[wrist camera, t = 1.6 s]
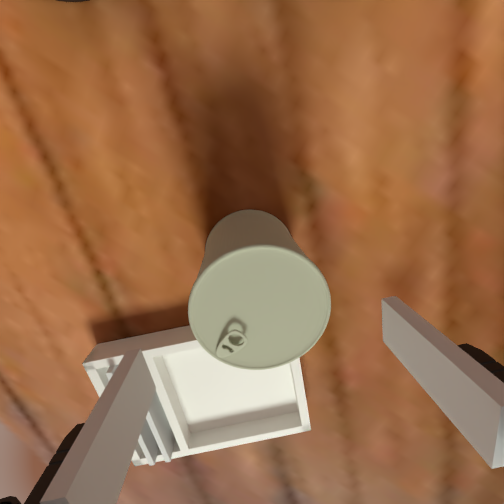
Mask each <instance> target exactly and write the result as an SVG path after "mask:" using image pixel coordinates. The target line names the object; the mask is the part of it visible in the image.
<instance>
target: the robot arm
mask: <svg viewBox="0 0 504 504" xmlns="http://www.w3.org/2000/svg"><path fill="white" fill-rule="evenodd" d="M58 1H65V2H82V1H89V0H58ZM382 325H383V342H384V343H385V344H386V345H387V346H388V347H389V349H390V350H391V351H392V352H393V353H394V355H395V356H396V357H397V358H398V359H399V360H400V362H401V363H402V364H403V365H404V366H405V367H406V369H407V370H408V371H409V372H410V373H411V374H412V376H413V377H414V378H415V379H416V380H417V382H418V383H419V384H420V385H421V386H422V387H423V389H424V390H425V391H426V392H427V393H428V394H429V396H430V397H431V398H432V399H433V400H434V402H435V403H436V404H437V405H438V406H439V407H440V409H441V410H442V411H443V412H444V413H445V414H446V416H447V417H448V418H449V419H450V420H451V421H452V423H453V424H454V425H455V426H456V427H457V429H458V430H459V431H460V432H461V433H462V434H463V436H464V437H465V438H466V439H467V440H468V441H469V443H470V444H471V445H472V446H473V447H474V449H475V450H476V451H477V452H478V453H479V454H480V456H481V457H482V458H483V459H484V460H485V461H486V463H487V464H488V465H489V466H490V467H491V468H492V469H493V468H498V467H503V466H504V366H502V365H501V364H500V363H498V362H496V361H495V360H494V359H493V358H492V357H490V356H489V355H488V354H486V353H485V352H484V351H482V350H480V349H478V348H476V347H473V346H471V345H469V344H467V343H466V344H461V345H456V344H455V343H453V342H452V341H451V340H450V339H448V338H447V337H446V336H445V335H443V334H442V333H441V332H440V331H439V330H437V329H436V328H435V327H434V326H432V325H431V324H430V323H429V322H427V321H426V320H425V319H424V318H422V317H421V316H420V315H419V314H417V313H416V312H415V311H414V310H412V309H411V308H410V307H409V306H408V305H406V304H405V303H404V302H403V301H401V300H400V299H399V298H398V297H396V296H393V297H388V298H383V299H382ZM155 390H156V386H155V383H154V381H153V378H152V376H151V373H150V371H149V368H148V366H147V363H146V361H145V358H144V356H143V353H142V351H141V348H139V349H134V350H129V351H126V353H125V354H124V356H123V358H122V360H121V361H120V363H119V365H118V367H117V368H116V370H115V372H114V374H113V375H112V377H111V379H110V381H109V382H108V384H107V386H106V388H105V389H104V391H103V393H102V394H101V396H100V398H99V400H98V401H97V403H96V405H95V407H94V408H93V410H92V412H91V414H90V415H89V417H88V419H87V421H86V422H85V423H82V424H77V425H76V426H75V427H74V428H73V429H72V431H71V432H70V433H69V434H68V435H67V436H66V437H65V438H64V440H63V441H62V443H61V445H60V446H59V448H58V450H57V451H56V454H54V456H53V458H52V459H51V461H50V462H49V466H47V467H46V469H45V471H44V473H43V474H42V476H41V477H40V479H39V481H38V482H37V484H36V485H35V487H34V489H33V490H32V492H31V493H30V495H29V496H28V498H27V500H26V501H25V503H24V504H116V503H117V500H118V497H119V494H120V491H121V488H122V486H123V483H124V480H125V477H126V474H127V471H128V468H129V465H130V462H131V459H132V457H133V454H134V451H135V448H136V445H137V442H138V439H139V436H140V433H141V431H142V428H143V425H144V422H145V419H146V416H147V413H148V410H149V407H150V404H151V402H152V399H153V396H154V393H155ZM0 504H21V503H20V501H19V500H18V499H17V498H16V497H12V496H9V497H6V498H2V499H0Z"/></svg>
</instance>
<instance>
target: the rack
mask: <svg viewBox="0 0 504 504" xmlns="http://www.w3.org/2000/svg"><path fill="white" fill-rule="evenodd" d="M139 348H141V351H142V353H143V356H144V358H145V361H146V363H147V366H148V368H149V371H150V373H151V376H152V378H153V381H154V383H155V386H156V390H155V393H154V396H153V399H152V402H151V404H150V407H149V410H148V413H147V416H146V419H145V422H144V425H143V428H142V431H141V433H140V436H139V439H138V442H137V445H136V448H135V451H134V454H133V457H132V459H131V460H132V462H133V464H134V466H138V465H143V464H148V463H149V465H150V466H151V465H155V462H158V461H163V460H165V462H170V461H171V459H173V458H178V457H182V456H187V455H192V454H197V453H202V452H207V451H212V450H217V449H222V448H226V447H231V446H236V445H241V444H246V443H251V442H256V441H261V440H266V439H270V438H275V437H280V436H285V435H290V434H295V433H300V432H305V431H309V430H311V427H310V421H309V414H308V408H307V402H306V396H305V390H304V383H303V377H302V371H301V365H300V359H299V358H298V359H296V360H294V361H292V362H290V363H288V364H285V365H283V366H279V367H276V368H272V369H265V370H247V369H241V368H236V367H233V366H230V365H227V364H225V363H223V362H221V361H219V360H217V359H215V358H214V357H212V356H211V355H210V354H209V353H208V352H207V351H205V350H204V349H203V347H202V346H201V345H200V344H199V342H198V341H197V339H196V338H195V336H194V334H193V332H192V329H191V326H190V325H189V326H184V327H179V328H174V329H169V330H164V331H159V332H154V333H149V334H144V335H139V336H135V337H130V338H125V339H120V340H115V341H110V342H105V343H100V344H96V346H95V347H94V348H93V350H92V351H91V353H90V354H89V355H88V357H87V358H86V359H85V361H84V362H83V363H82V364H83V366H84V368H85V370H86V372H87V374H88V376H89V377H90V379H91V381H92V383H93V385H94V387H95V389H96V391H97V393H98V395H99V397H100V396H101V394H102V393H103V391H104V389H105V388H106V386H107V384H108V382H109V381H110V379H111V377H112V375H113V374H114V372H115V370H116V368H117V367H118V365H119V363H120V361H121V360H122V358H123V356H124V354H125V353H126V351H129V350H134V349H139Z"/></svg>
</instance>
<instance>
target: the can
mask: <svg viewBox="0 0 504 504" xmlns="http://www.w3.org/2000/svg"><path fill="white" fill-rule="evenodd" d="M330 310H331V297H330V291H329V288H328V285H327V282H326V280H325V278H324V276H323V274H322V273H321V271H320V270H319V269H318V267H317V266H316V265H315V264H314V263H313V262H312V261H311V260H310V259H309V258H308V257H307V256H306V255H305V254H304V253H303V251H302V250H301V249H300V248H299V246H298V245H297V244H296V242H295V241H294V240H293V238H292V237H291V235H290V233H289V231H288V229H287V228H286V226H285V225H284V224H283V223H282V222H281V221H280V220H279V219H278V218H276V217H275V216H273V215H271V214H269V213H267V212H264V211H260V210H241V211H237V212H234V213H232V214H229V215H228V216H226V217H224V218H223V219H222V220H220V221H219V222H218V223H217V224H216V225H215V226H214V228H213V229H212V231H211V232H210V234H209V236H208V239H207V242H206V247H205V255H204V258H203V261H202V264H201V267H200V271H199V274H198V277H197V279H196V281H195V283H194V285H193V287H192V290H191V293H190V296H189V302H188V317H189V323H190V326H191V329H192V332H193V334H194V336H195V338H196V339H197V341H198V342H199V344H200V345H201V346H202V347H203V349H204V350H205V351H207V352H208V353H209V354H210V355H211V356H212V357H214V358H215V359H217V360H219V361H221V362H223V363H225V364H227V365H230V366H233V367H236V368H241V369H247V370H265V369H272V368H276V367H279V366H283V365H285V364H288V363H290V362H292V361H294V360H296V359H298V358H299V357H301V356H302V355H304V354H305V353H306V352H307V351H309V350H310V349H311V348H312V347H313V346H314V345H315V344H316V342H317V341H318V340H319V338H320V337H321V336H322V334H323V332H324V330H325V328H326V326H327V323H328V320H329V316H330Z"/></svg>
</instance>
